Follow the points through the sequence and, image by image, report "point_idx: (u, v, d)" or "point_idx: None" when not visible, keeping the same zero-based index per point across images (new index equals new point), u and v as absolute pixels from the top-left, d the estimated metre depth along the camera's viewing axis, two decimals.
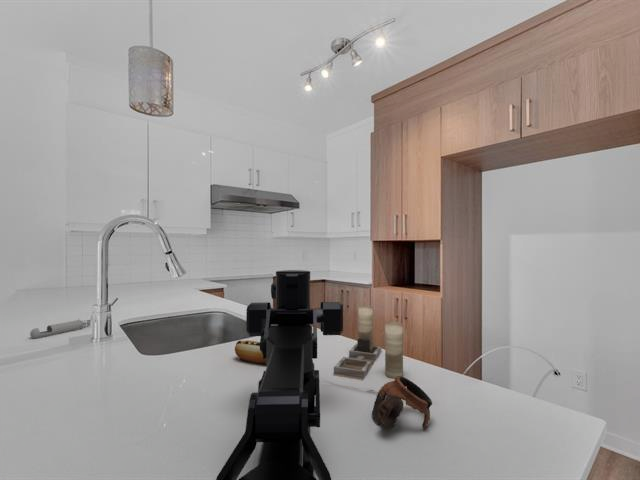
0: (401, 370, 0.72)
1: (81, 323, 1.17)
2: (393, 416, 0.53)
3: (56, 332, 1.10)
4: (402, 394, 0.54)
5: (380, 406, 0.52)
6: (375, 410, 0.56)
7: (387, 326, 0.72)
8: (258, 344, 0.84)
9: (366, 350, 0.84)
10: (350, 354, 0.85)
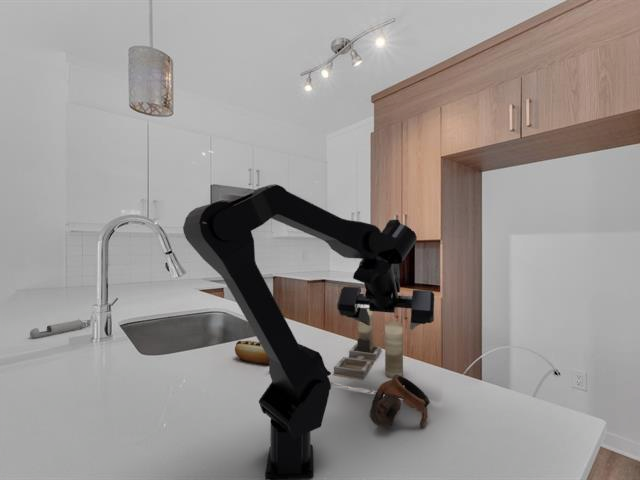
0: (401, 370, 0.72)
1: (81, 323, 1.17)
2: (391, 415, 0.53)
3: (56, 332, 1.10)
4: (400, 393, 0.55)
5: (378, 405, 0.52)
6: (373, 409, 0.57)
7: (387, 326, 0.72)
8: (258, 344, 0.84)
9: (366, 350, 0.84)
10: (350, 354, 0.85)
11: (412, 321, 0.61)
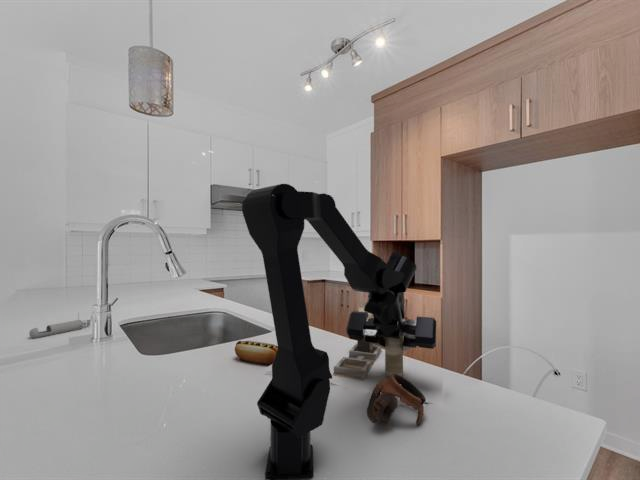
0: (401, 370, 0.72)
1: (81, 323, 1.17)
2: (387, 413, 0.54)
3: (55, 332, 1.10)
4: (397, 392, 0.55)
5: (375, 403, 0.53)
6: (370, 408, 0.57)
7: None
8: (258, 344, 0.84)
9: (366, 350, 0.84)
10: (350, 354, 0.85)
11: (404, 345, 0.67)
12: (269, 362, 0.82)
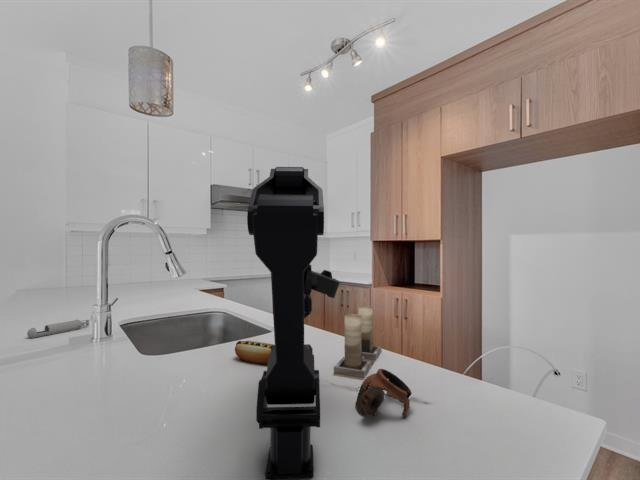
0: (359, 360, 0.75)
1: (79, 323, 1.17)
2: (375, 406, 0.56)
3: (53, 332, 1.10)
4: (384, 385, 0.58)
5: (363, 396, 0.55)
6: (359, 401, 0.60)
7: (346, 318, 0.75)
8: (258, 344, 0.84)
9: (366, 350, 0.84)
10: None
11: None
12: None
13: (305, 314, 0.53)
